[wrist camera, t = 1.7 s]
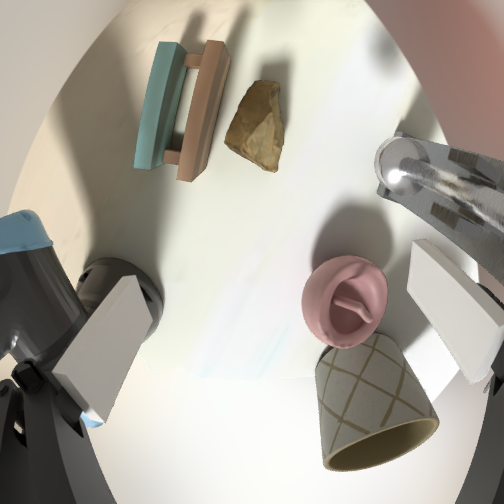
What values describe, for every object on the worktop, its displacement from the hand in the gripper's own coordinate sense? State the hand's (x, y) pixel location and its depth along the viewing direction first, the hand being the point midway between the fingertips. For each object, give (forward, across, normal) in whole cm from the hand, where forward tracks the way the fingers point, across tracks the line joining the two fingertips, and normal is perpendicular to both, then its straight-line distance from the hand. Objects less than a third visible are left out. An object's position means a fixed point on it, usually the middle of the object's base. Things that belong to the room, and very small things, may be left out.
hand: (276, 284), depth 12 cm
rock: (+23, +1, +8) cm, 25 cm away
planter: (+25, +13, -35) cm, 45 cm away
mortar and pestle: (+24, +8, -15) cm, 29 cm away
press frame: (+23, +15, +2) cm, 28 cm away
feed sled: (+23, -8, +11) cm, 26 cm away
